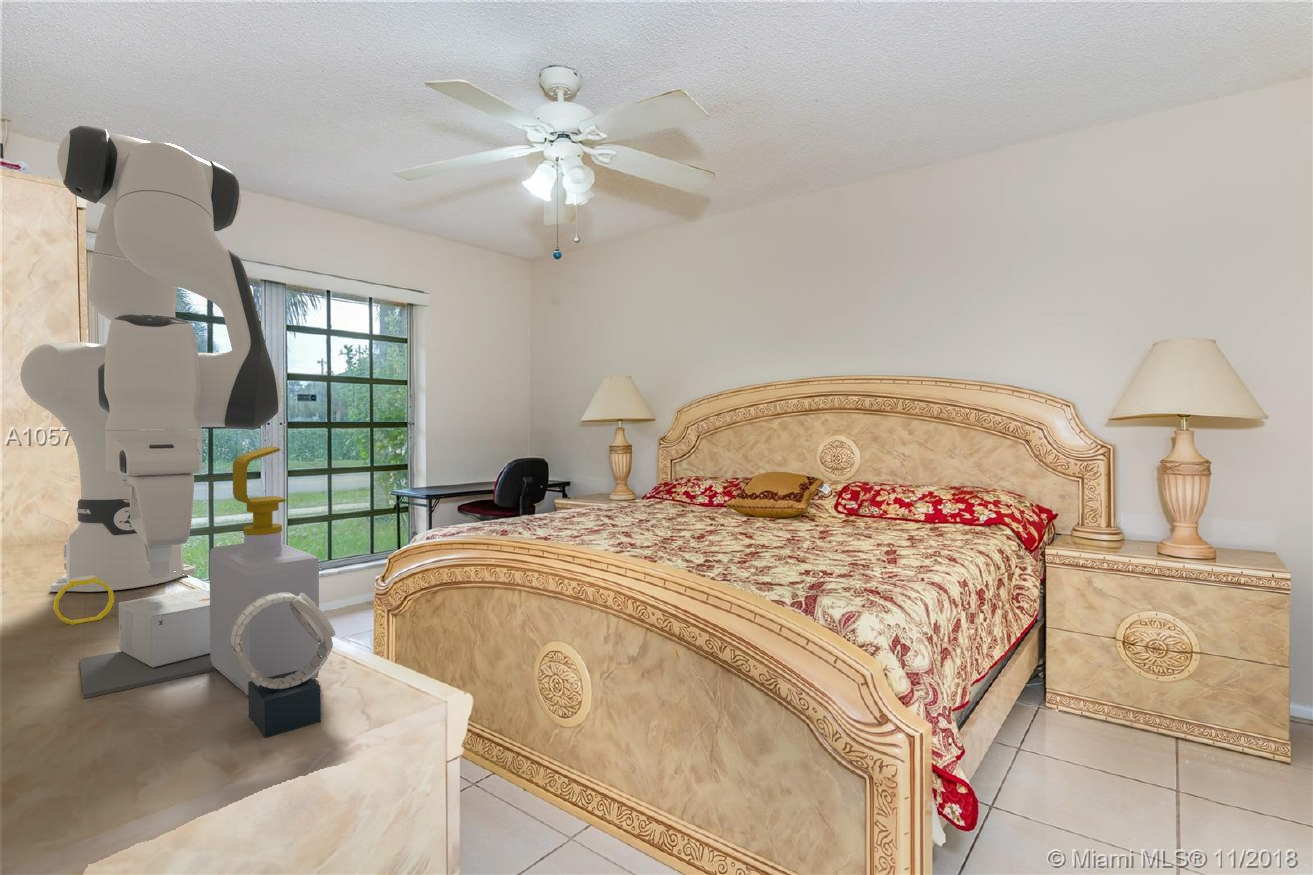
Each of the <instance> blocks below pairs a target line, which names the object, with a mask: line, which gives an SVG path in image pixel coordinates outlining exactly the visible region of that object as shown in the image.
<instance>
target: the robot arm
mask: <svg viewBox="0 0 1313 875" xmlns="http://www.w3.org/2000/svg"><path fill="white" fill-rule="evenodd" d="M57 149H58V150H57V156H56V160H57V161H56V162H57V167H58V171H59V174H60V176H61V178H62V183H63V185H64V187H66V189H67V190H69V192H70V193H71V194H73V195H74V196H77V197H78V198H80V199H83V200H86V201H88V202H91V203H93V204H97V203H100V204H104V205H105V206H104V209H103V211H102V214H101V217H100V221H99V223H98V227H97V230H96V235H95V240H94V245H93V253H92V260H91V269H90V276H89V285H88V292H87V295H88V296H87V297H88V300H89V303H90V305H91V306H92V307H93V309H94V310H95V311H96V312H97V313H99V314H100V315H101V316H103V318H105V319H107V320H109V321H110V324H109V329H108V332H107V337H106V338H107V339H106V343H97V342H83V341H67V342H66V341H63V342H54V343H53V342H51V343H43V344H39V345H37V346H36V347H34V348H33V349H32V350H31V351H30V352H29V353H28V354H27V355H26V357H25V358H24V359H23V361H22V365H21V366H20V367H21V368H20V373H19V374H20V376H19V377H20V382H21V384H22V387H23V389H24V392H25V393H26V394H27V396H28V397H29V398H30V399H31V400H32V401H33V403H35V404H36V405H39V406H40V407H42V408H43V409H45V410H46V411H47V412H49V413H50V414H52V415H53V416H54V417H55V418H56V419H57V420H58V421H59V422H60V423H61V424H62V425H63V427H64V428H65V430H67V433H68V434H69V436H70V438H71V439H72V442H73V444H74V447H75V449H76V453H77V454H76V455H77V458H78V467H79V478H80V479H79V480H80V494H81V495H80V496H81V497H80V498H79V499H78V500H77V507H76V513H77V521H78V522H79V525H78V526H77V528H76V529H75V530H74V531H72V532H71V533H70V534H69V536H67V537H66V542H64V545H63V559H64V560H66V561H64V564H63V566H64V567H63V568H64V570H65V571H66V573H65V574H64V575H62V576H60V578H58V579H57V580H56V581H54V582H52V584H50V587H49V592H51V593H52V592H53V593H54V592H57V593H58V592H59V591H60V589H61V588H63V587H64V586H65V585H67V584H69V580H70V579H73V578H76V577H82V576H91V575H94V576H97V580H100V581H103V582H105V583H106V584H107V585H108V586H109V587H110V588H111V589H112V591H120V590H127V589H128V590H129V589H135V588H140V587H141V588H142V587H147V586H154V585H157V584H162V583H166V582H170V581H173V580H175V579H178V578H180V577H181V578H182V577H184V576H190V575H193V574H196V573H197V568H196V566H193V565H191V564H190V565H189V564H188V563H187V564H186V563H184V550H183V548H184V547H183V546H184V545H185V544H187V543H188V540H189V538H190V533H191V529H192V528H191V527H192V519H193V511H194V510H193V508H194V496H195V495H194V493H195V492H194V491H195V476H194V474H199V473H200V472H201V470H202V468H203V436H202V435H203V434H202V433H203V432H202V428H226V429H236V430H237V429H238V430H249V431H251V430H253V431H255V430H257V429H259V428H260V427H262V426H264V425H265V424H266V423H268V422H269V421H271V420H272V419H273V418H274V417H276V415H278V413H279V408H280V405H281V401H282V400H281V398H282V391H281V384H280V381H279V377H278V375H277V372H276V370H275V368H274V365H273V364H272V360H271V358H270V354H269V351H268V349H267V348H268V347H267V344H266V341H265V337H264V332H263V330H262V325H261V322H260V317H259V313H258V310H257V305H256V303H255V299H254V295H253V290H252V287H251V284H250V282H249V276H248V275H247V271H246V268H245V267H244V264H243V262H242V260H241V258H240V257H239V255H238V254H236V253H234V252H233V251H231V250H229V249H228V248H226V247H225V246H224V245H223V243H222V242H221V241H220V240H219V238H218V236H217V234H216V233H215V232H219V231H223V230H224V229H227V228H228V227H231V226H232V225H233V222H234V220H235V219H236V217H237V215H238V214H239V213H240V212H239V211H240V210H241V206H242V195H241V190H240V184H239V180H238V179H237V177H236V175H235V174H234V172H233V171H231V170H229V169H228V168H226V167H224V166H222V165H220V164H219V163H216V162H214V161H206V160H204V159H203V158H200V157H197V156H195V155H193V154H192V153H190V152H189V151H187V150H185V149H184V148H182V147H180V146H177V145H176V144H172V143H168V142H162V141H148V140H145V139H141V138H137V137H133V136H128V135H125V134H118V133H116V132H115V133H113V132H110V131H108V130H107V129H106V128H102V127H97V126H90V125H78V126H76V127H74V128H72V129H70V130H69V132H68V134H67V135H66V136H65V137H64V138H63V140H62V141H61V143H60V144H59V147H58V148H57ZM178 288H180V289H183V290H185V291H188V292H191V293H193V294H195V295H198V296H201V297H202V298H204V299H206V300H209V301H210V302H212V303H213V304H214V305H216V306H217V307H218V308H219V310H220V311H221V312H222V316H223V318H224V323H225V326H226V331H227V334H228V338H229V343H230V346H231V350H230V351H228V352H218V353H217V352H198V347H197V341H196V340H197V339H196V336H195V332H194V327H193V325H192V323H190V321H187V320H185V319H183V318H181V317H180V318H179V317H176V307H177V306H176V304H177V294H178V293H177V292H178ZM174 571H176V572H174ZM183 574H184V575H183ZM65 592H81V593H82V592H84V593H86V592H87V593H90V592H108V591H107V589H106V588H105V587H104V586H103V585H100V584H97V583H90V584H85V585H78V586H73V587H71V588H70V589H68V590H66V591H65Z"/></svg>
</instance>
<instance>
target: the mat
mask: <svg viewBox="0 0 1313 875" xmlns="http://www.w3.org/2000/svg"><path fill="white" fill-rule="evenodd" d="M78 660H79V670H80V679H81V686H82V694H83V695H82V696H83V699H87V698H92V697H97V696H102V695H106V694H111V693H116V692H121V691H125V690H130V689H134V688H138V687H144V686H149V685H153V684H157V683H162V682H166V681H167V682H168V681H172V680H176V679H181V678H186V677H190V676H196V675H199V674H203V673H209V672H213V671H216V670H217V669H216V668H215V667H214V666H213V665H212V662H211V660H210V654H206V655H202V656H198V657H194V658H190V659H186V660H182V661H178V662H174V663H170V664H166V665H162V666H158V667H155V668H153V667H151V666H149V665H147V664H145V663H143V662H141V661H140V660H138V659H136V658H134V657H132V656H130V655H128V654H126V653H124V652H123V651H121V650H119V651H116V652H115V651H114V652H111V653H110V652H109V653H105V654H104V653H103V654H98V655H94V656H88V657H83V658H79V659H78ZM217 671H218V670H217Z"/></svg>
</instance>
